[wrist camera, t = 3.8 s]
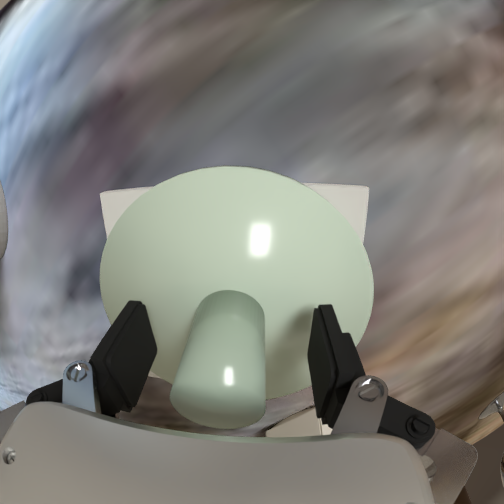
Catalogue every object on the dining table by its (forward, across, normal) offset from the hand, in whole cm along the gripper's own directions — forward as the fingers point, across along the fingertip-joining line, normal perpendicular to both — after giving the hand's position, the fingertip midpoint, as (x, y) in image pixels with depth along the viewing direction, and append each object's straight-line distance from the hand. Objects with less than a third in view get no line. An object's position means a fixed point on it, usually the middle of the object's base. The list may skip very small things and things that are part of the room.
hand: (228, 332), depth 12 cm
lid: (+2, 0, 0) cm, 2 cm away
